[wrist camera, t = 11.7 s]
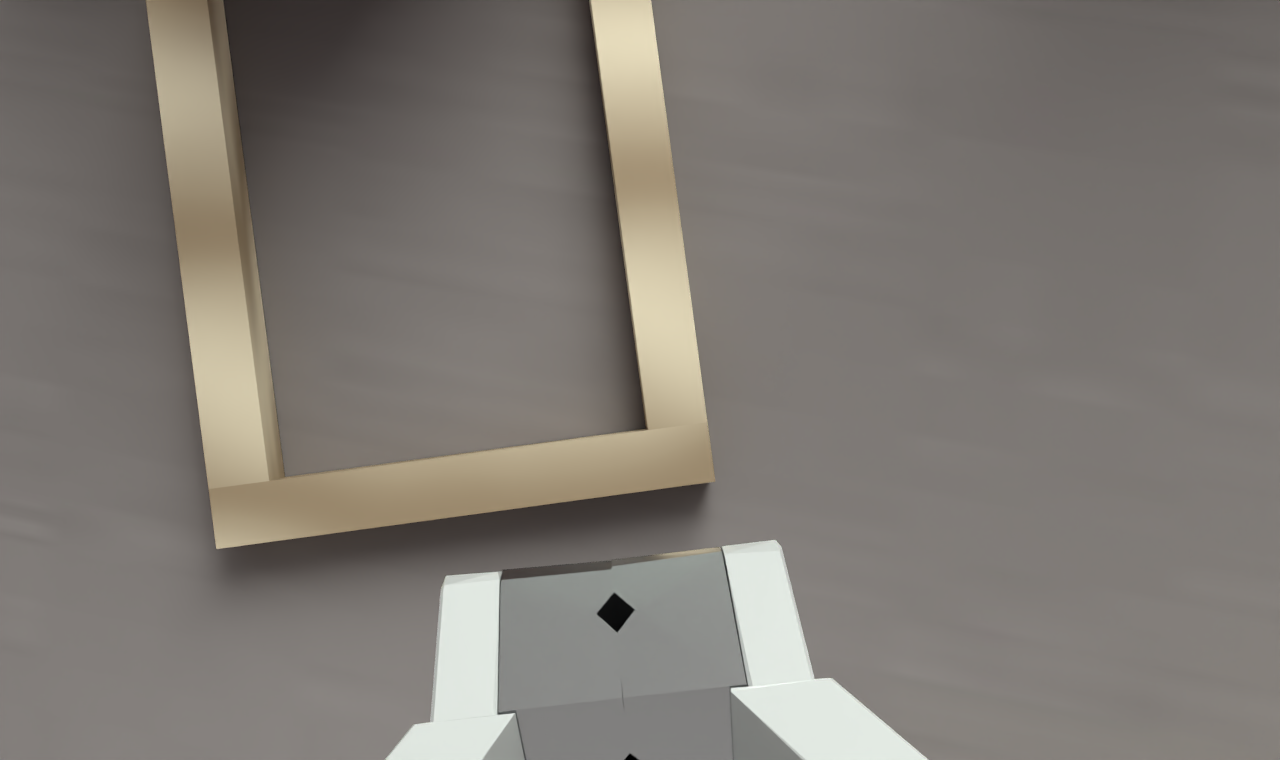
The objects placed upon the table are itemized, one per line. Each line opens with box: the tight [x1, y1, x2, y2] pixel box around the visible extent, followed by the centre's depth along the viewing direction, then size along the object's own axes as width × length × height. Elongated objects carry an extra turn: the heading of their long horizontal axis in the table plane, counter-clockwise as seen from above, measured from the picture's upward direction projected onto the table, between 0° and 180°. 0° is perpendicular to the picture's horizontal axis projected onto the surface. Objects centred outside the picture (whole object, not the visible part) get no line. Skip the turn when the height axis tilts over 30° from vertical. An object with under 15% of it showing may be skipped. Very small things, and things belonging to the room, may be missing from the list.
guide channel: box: [146, 0, 715, 549], centre depth 31 cm, size 16×12×2 cm
